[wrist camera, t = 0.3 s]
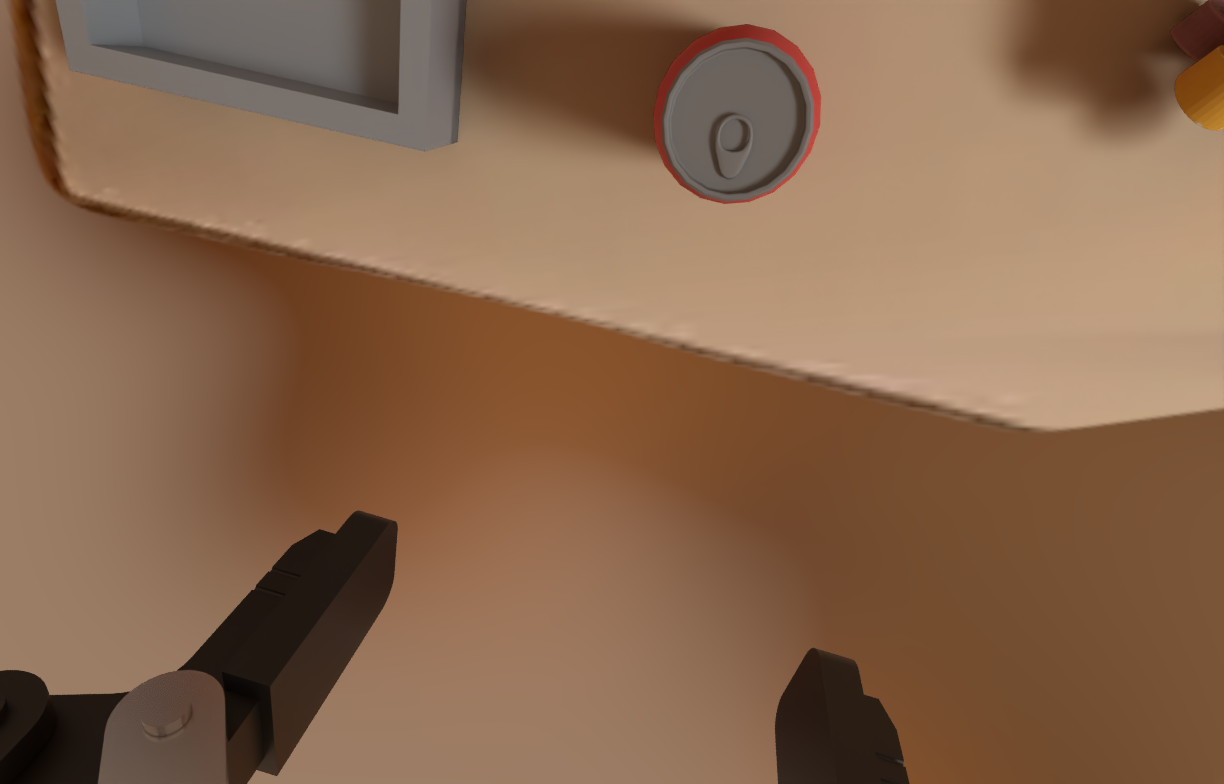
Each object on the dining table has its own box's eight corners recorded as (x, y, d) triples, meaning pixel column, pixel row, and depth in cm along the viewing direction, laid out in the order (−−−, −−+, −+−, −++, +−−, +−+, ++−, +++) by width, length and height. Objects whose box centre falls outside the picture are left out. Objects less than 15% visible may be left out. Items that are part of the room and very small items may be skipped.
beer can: (666, 165, 36) (640, 208, 25) (677, 30, 33) (654, 16, 22) (784, 174, 35) (810, 222, 24) (808, 37, 32) (848, 25, 21)
